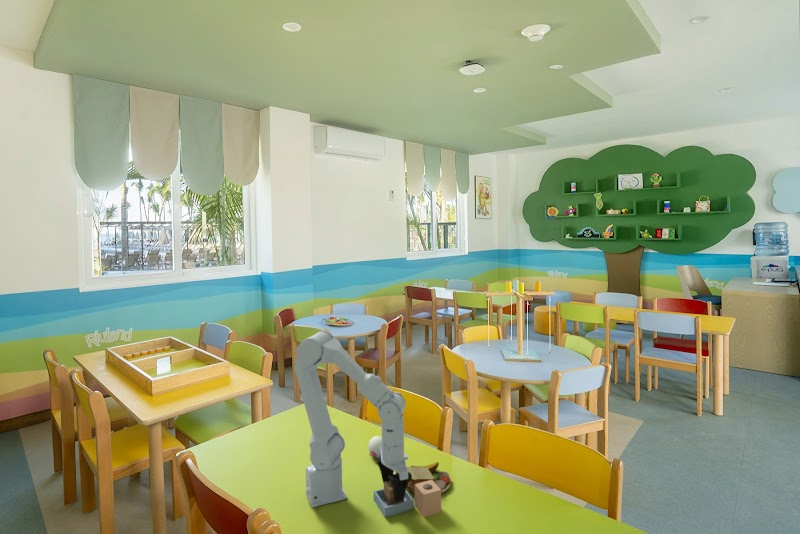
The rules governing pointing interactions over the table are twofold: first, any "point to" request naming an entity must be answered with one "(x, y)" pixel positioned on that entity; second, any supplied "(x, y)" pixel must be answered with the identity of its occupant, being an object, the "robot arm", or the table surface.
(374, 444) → the stress ball
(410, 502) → the tray
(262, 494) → the table surface
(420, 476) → the toy sandwich meal
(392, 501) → the walnut block
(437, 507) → the terracotta block
